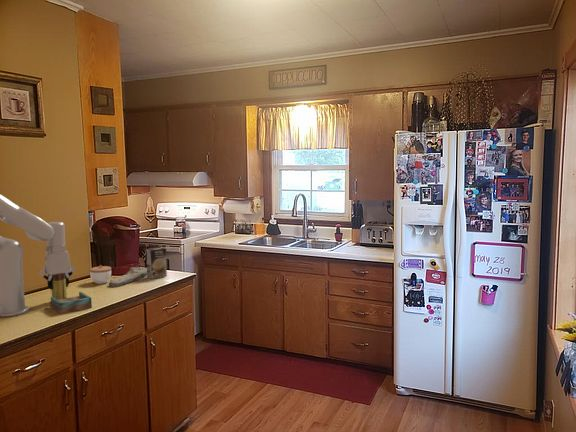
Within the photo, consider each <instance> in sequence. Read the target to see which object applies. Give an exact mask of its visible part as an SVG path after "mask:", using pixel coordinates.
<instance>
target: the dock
mask: <svg viewBox="0 0 576 432" xmlns="http://www.w3.org/2000/svg"><path fill="white" fill-rule="evenodd" d="M92 302H93V301H92V297H91V296H90V295H87V294H86V293H84V292H82V291H79V292H78V295H75V296H72V297H71V296H70V297H67V298H64V299H59V300H57V299H56V298H54V297H52V296H50V308H52V309H53V310H55V311H56V313H58V314H60V315H61V314H67V313H72V312H75V311H76V312H78V311H81V310H87V309H92V307H93V305H92Z"/></svg>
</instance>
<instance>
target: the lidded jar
mask: <svg viewBox="0 0 576 432" xmlns="http://www.w3.org/2000/svg"><path fill="white" fill-rule="evenodd" d="M89 275H90V279H91V280H92V282H94V283H95V284H97V285H103V284H104V285H105V284H107V283H108V281H110V279H111V277H112V267H111V266H108V265H107V266H106V265H104V266H103V265H101V264H99V266H94V267H91V268H89Z"/></svg>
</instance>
